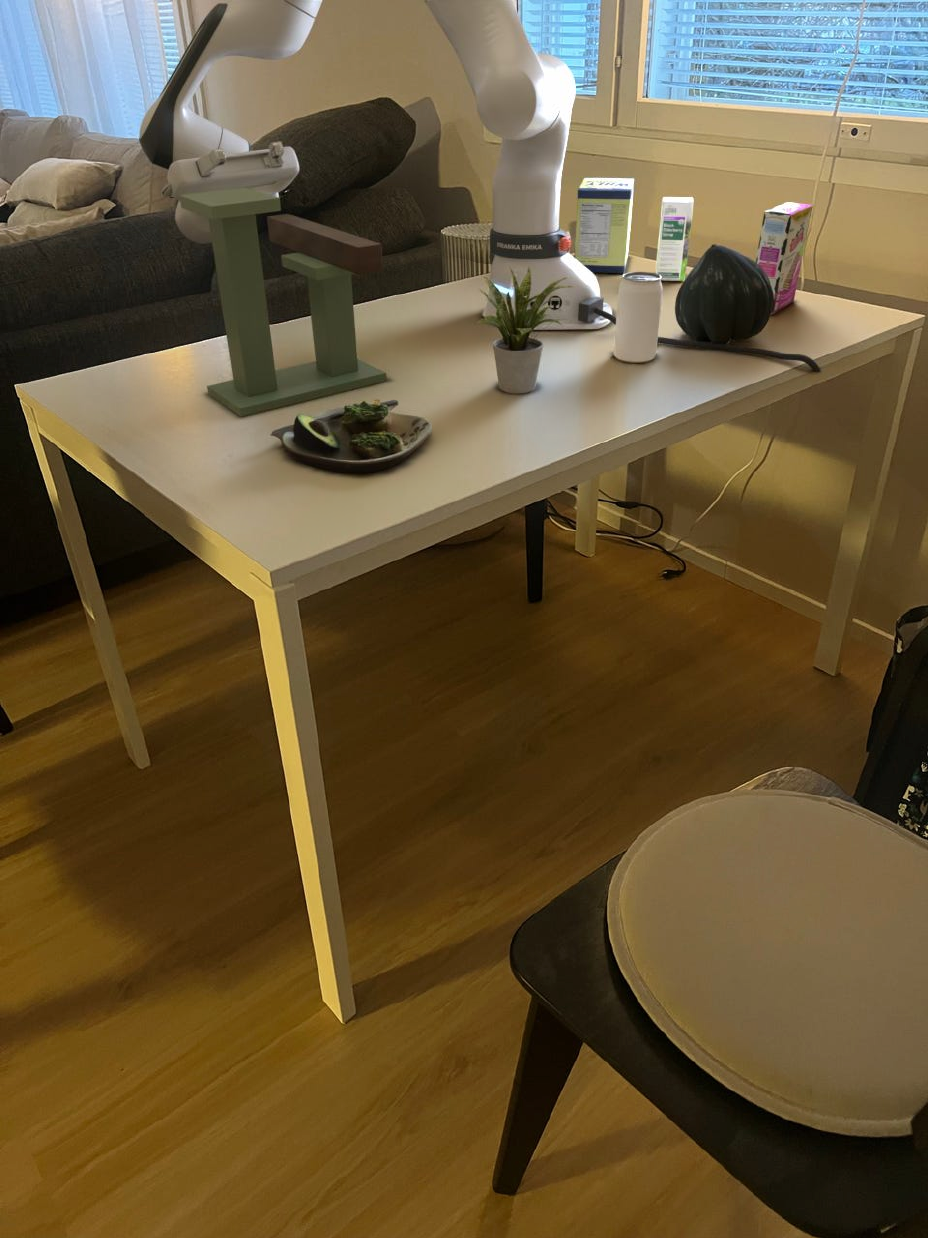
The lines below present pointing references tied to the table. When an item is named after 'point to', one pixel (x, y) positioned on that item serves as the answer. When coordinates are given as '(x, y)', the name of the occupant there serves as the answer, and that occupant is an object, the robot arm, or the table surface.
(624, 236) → the protein box
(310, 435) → the salad plate
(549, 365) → the table surface
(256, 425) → the table surface
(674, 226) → the syrup box
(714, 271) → the squash
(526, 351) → the house plant
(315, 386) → the plant stand
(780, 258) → the candy bar box
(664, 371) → the table surface
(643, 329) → the can
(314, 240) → the walnut stick
